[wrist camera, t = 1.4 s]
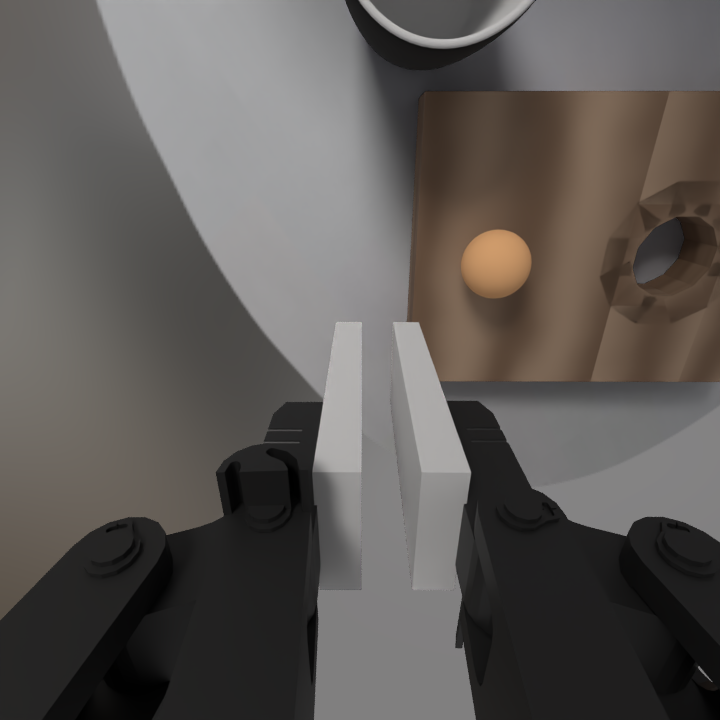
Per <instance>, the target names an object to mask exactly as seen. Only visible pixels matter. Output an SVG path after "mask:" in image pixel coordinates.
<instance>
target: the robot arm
mask: <svg viewBox="0 0 720 720" xmlns="http://www.w3.org/2000/svg"><path fill="white" fill-rule="evenodd" d="M390 405H391V413H392V422H393V430H394V439H395V447H396V456H397V464H398V473H399V481H400V490H401V499H402V506H403V516H404V524H405V533H406V542H407V550H408V558H409V568H410V576H411V585H412V590H454V586H455V578H456V572H457V575H458V579H459V584H460V588H461V592H462V601H461V607H460V613H459V620H458V626H457V632H456V648H462V645H463V642H464V648H465V654H466V660H467V667H468V672H469V679H470V685H471V690H472V697H473V703H474V710H475V715H476V720H720V542H718V541H717V540H715V539H713V538H712V537H711V536H709V535H708V534H706V533H705V532H703V531H701V530H699V529H697V528H695V527H693V526H690V525H688V524H686V523H684V522H680V521H677V520H673V519H669V518H665V517H645V518H642V519H640V520H637V521H635V522H634V523H633V524H632V526H631V528H630V530H629V532H628V534H627V536H623V535H619V534H615V533H611V532H607V531H603V530H599V529H595V528H591V527H587V526H584V525H581V524H577V523H574V522H572V521H570V520H568V519H567V517H566V515H565V514H564V513H563V511H562V510H561V509H560V507H559V506H558V505H557V503H555V502H554V501H552V500H551V499H550V498H548V497H547V496H546V495H545V494H543V493H541V492H539V491H536V490H534V489H532V488H531V486H530V484H529V482H528V480H527V478H526V476H525V474H524V473H523V471H522V469H521V467H520V465H519V463H518V461H517V459H516V457H515V455H514V453H513V451H512V449H511V447H510V445H509V444H508V443H507V442H506V438H505V436H504V434H503V432H502V430H500V426H499V424H498V422H497V420H496V418H495V416H494V414H493V413H492V412H491V411H490V410H488V409H487V408H486V407H485V406H483V405H482V404H481V403H480V402H478V401H446V399H445V396H444V393H443V390H442V388H441V385H440V382H439V379H438V376H437V373H436V370H435V368H434V365H433V362H432V359H431V356H430V353H429V350H428V347H427V345H426V342H425V339H424V336H423V333H422V330H421V327H420V325H419V322H393V336H392V364H391V391H390ZM361 466H362V322H336V326H335V332H334V339H333V345H332V351H331V358H330V364H329V370H328V376H327V383H326V389H325V395H324V402H286V403H285V404H284V405H283V406H282V407H281V408H279V409H278V410H277V411H276V412H275V413H274V414H273V417H272V420H271V422H270V425H269V428H268V432H267V434H266V437H265V440H264V444H260V445H254V446H250V447H247V448H245V449H242V450H240V451H237V452H236V453H234V454H233V455H231V456H230V457H229V458H227V459H226V460H224V461H223V463H222V464H221V466H220V467H219V469H218V470H217V472H216V476H217V481H218V486H219V491H220V497H221V502H222V508H223V513H224V516H223V517H222V518H220V519H218V520H216V521H214V522H212V523H209V524H206V525H204V526H201V527H197V528H193V529H190V530H185V531H182V532H178V533H174V534H170V535H166V533H165V531H164V530H163V528H162V527H161V525H160V524H159V523H158V522H156V521H153V520H151V519H148V518H145V517H128V518H125V519H121V520H117V521H113V522H110V523H107V524H106V525H104V526H102V527H100V528H98V529H96V530H94V531H92V532H90V533H89V534H87V535H86V536H85V537H84V538H82V539H81V540H80V541H79V542H78V543H76V544H75V545H74V546H73V547H72V548H71V549H70V550H69V551H68V552H67V553H66V554H65V555H64V556H63V557H62V558H61V559H60V560H59V561H58V562H57V563H56V564H55V565H54V566H53V567H52V568H51V569H50V570H49V571H48V572H47V573H46V575H44V576H43V577H42V578H41V579H40V580H39V581H38V582H37V583H36V585H35V586H34V587H33V588H32V589H31V590H30V591H29V592H28V593H27V594H26V595H25V596H24V597H23V598H22V599H21V600H20V601H19V602H18V603H17V604H16V605H15V606H14V607H13V608H12V609H11V610H10V611H9V612H8V613H7V614H6V615H5V616H4V617H3V618H2V619H1V620H0V720H314V705H315V682H316V659H317V638H318V608H317V597H318V587H319V586H320V590H361V521H362V520H361V519H362V517H361V516H362V515H361V514H362V507H361V505H362V503H361V502H362V495H361V494H362V488H361V487H362V486H361V485H362V483H361V482H362V467H361ZM698 666H700V667H701V669H702V670H703V671H704V672H705V673H706V675H707V676H708V677H709V678H710V679H711V681H712V682H711V681H710V680H709V679H708V678H707V677H705V675H704V674H703V673H702V672H701V671H700V670H699V669H698Z"/></svg>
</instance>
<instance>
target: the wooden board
mask: <svg viewBox="0 0 720 720" xmlns="http://www.w3.org/2000/svg"><path fill="white" fill-rule="evenodd" d="M673 218H677V219H678V220H679V221H681V226H682V230H683V234H684V242H683V245H682V248H681V251H680V254H679V257H678V259H677V260H676V261H675V262H674V264H673V265H672V266H671V267H670V268H669V269H668V270H667V271H666V272H665V273H664V275H661V276H659V277H657V278H655V279H653V280H651V281H649V282H647V283H645V284H637V282H636V279H635V275H634V272H633V269H632V268H633V264H634V260H635V257H636V253H637V250H638V247H639V246H640V244H641V243H642V242H643V241H644V240H645V239H646V237H647V236H648V235H649V234H650V233H651V232H652V230H653V229H654V228H655V227H657V226H659V225H661V224H663V223H665V222H667V221H669V220H671V219H673ZM498 229H499V230H507V231H510V232H513V233H515V234H517V235H518V236H519V237H521V238H522V239H523V240H524V241H525V243H526V244H527V246H528V248H529V250H530V253H531V261H532V264H531V270H530V273H529V276H528V278H527V280H526V281H525V283H524V284H523V285H522V286H521V287H520V288H519V289H518V290H517V291H515V292H514V293H512V294H511V295H508V296H506V297H502V298H494V299H493V298H485V297H482V296H480V295H478V294H476V293H474V292H473V291H472V290H471V289H470V288H469V287H468V286H467V285H466V283H465V281H464V279H463V277H462V273H461V260H462V256H463V253H464V251H465V249H466V247H467V246H468V245H469V243H470V242H471V241H472V240H473V239H474V238H476V237H477V236H478V235H480V234H482V233H484V232H487V231H491V230H498ZM407 322H419V325H420V327H421V330H422V333H423V336H424V339H425V342H426V345H427V347H428V350H429V353H430V356H431V359H432V362H433V365H434V368H435V370H436V373H437V376H438V379H439V381H561V382H720V91H425V92H424V93H423V94H422V96H421V97H420V98H419V102H418V122H417V141H416V160H415V179H414V198H413V218H412V237H411V256H410V275H409V294H408V314H407Z"/></svg>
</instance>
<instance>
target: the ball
mask: <svg viewBox="0 0 720 720" xmlns="http://www.w3.org/2000/svg"><path fill="white" fill-rule="evenodd" d="M531 264H532V261H531V253H530V250H529V248H528V246H527V244H526V243H525V241H524V240H523V239H522V238H521V237H519V236H518V235H517V234H515V233H513V232H510V231H507V230H499V229H498V230H491V231H487V232H484V233H482V234H480V235H478V236H477V237H476V238H474V239H473V240H472V241H471V242H470V243H469V245H468V246H467V247H466V249H465V251H464V253H463V256H462V260H461V273H462V277H463V279H464V281H465V283H466V285H467V286H468V287H469V288H470V289H471V290H472V291H473V292H474V293H476V294H478V295H480V296H482V297H485V298H493V299H494V298H502V297H506V296H508V295H511V294H512V293H514V292H515V291H517V290H518V289H519V288H520V287H521V286H522V285H523V284H524V283H525V281H526V280H527V278H528V276H529V273H530V270H531Z"/></svg>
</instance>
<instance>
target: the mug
mask: <svg viewBox="0 0 720 720" xmlns="http://www.w3.org/2000/svg"><path fill="white" fill-rule="evenodd" d="M345 1H346V4H347V6H348V9H349V11H350V14H351V16H352V18H353V20H354V22H355V24H356V26H357V27H358V29H359V31H360V32H361V34H362V36H363V37H364V38H365V40H366V41H367V42H368V44H369V45H370V46H371V47H372V48H373V49H374V50H375V51H376V52H377V53H378V54H379V55H380V56H381V57H383V58H384V59H386V60H387V61H389V62H391V63H392V64H394V65H397V66H399V67H402V68H406V69H411V70H430V69H435V68H440V67H443V66H447V65H450V64H452V63H454V62H457V61H459V60H461V59H463V58H465V57H467V56H469V55H471V54H473V53H475V52H476V51H478V50H480V49H481V48H483V47H484V46H486V45H487V44H489V43H490V42H492V41H493V40H494V39H496V38H497V37H499V36H500V35H501V34H502V33H503V32H505V31H506V30H507V29H508V28H509V27H511V26H512V25H513V24H514V23H515V22H516V21H517V20H518V19H519V18H520V17H521V16H522V15H523V14H524V13H525V12H526V11H527V10H528V9H529V8H530V6H531V5H532V4H533V3H534V2H535V1H536V0H345Z"/></svg>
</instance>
